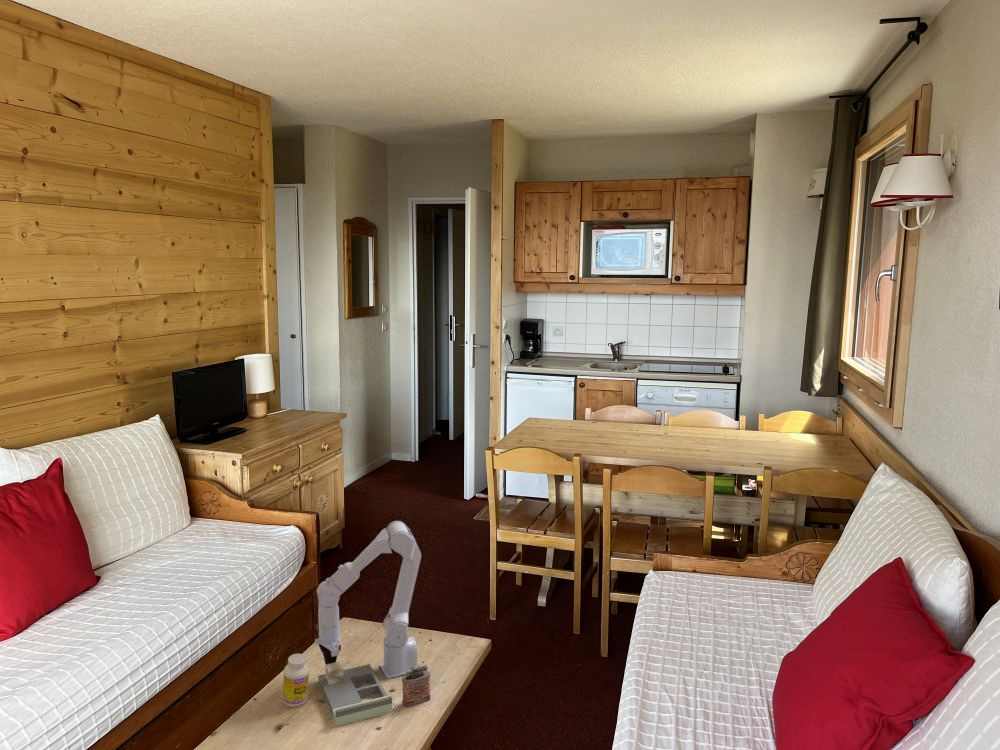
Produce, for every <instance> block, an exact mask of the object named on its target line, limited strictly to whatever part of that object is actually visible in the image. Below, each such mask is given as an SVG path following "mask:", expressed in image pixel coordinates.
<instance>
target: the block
mask: <svg viewBox="0 0 1000 750" xmlns="http://www.w3.org/2000/svg"><path fill="white" fill-rule="evenodd" d="M343 670H344V668H343V666H342V664H341V662H340V661H336V662H335V663H331V664H326V665H325V674H326V679H327V681H328V684H329V685H331V684H335V683H339V682H343Z"/></svg>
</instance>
